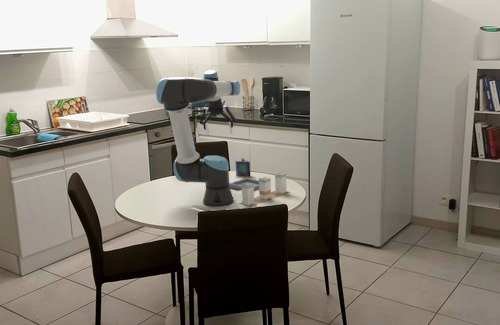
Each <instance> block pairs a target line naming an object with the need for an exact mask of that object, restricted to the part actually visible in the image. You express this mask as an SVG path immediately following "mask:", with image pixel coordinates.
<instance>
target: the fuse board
mask: <svg viewBox="0 0 500 325" xmlns="http://www.w3.org/2000/svg"><path fill="white" fill-rule="evenodd" d="M290 193H291V191H287V192H285V193H283V194H280V193H276V190H274V191H271V198H268V199H266V200H265V199H261V198H260V195H259V196H257V197H254V204H251V205H249V206H248V205H245V204H243V201H241V202H239V203H238V205H242V206H245V207H249V208H251V207H254V206H257V205H259V204H260V205H261V204H262V203H265V202H267V201H270V200H273V199H276V198H279V197H281V196H284V195H288V194H290Z"/></svg>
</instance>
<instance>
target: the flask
mask: <svg viewBox="0 0 500 325" xmlns="http://www.w3.org/2000/svg"><path fill="white" fill-rule="evenodd" d="M234 163H235V175H236V176H238V177H246V178H249V177H251V164H250V163H251V162H250V160H247V159H245V157H242V158H241V160H235V162H234Z"/></svg>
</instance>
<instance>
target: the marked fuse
mask: <svg viewBox="0 0 500 325" xmlns="http://www.w3.org/2000/svg"><path fill="white" fill-rule="evenodd" d="M271 179H272V178H271V177H266V176H262V177H260V178H258V181H259V189H258V192H259V196H260V198H261V199H265V200H266V199H268V198H271V192H272V189H271V188H272V184H271V181H272V180H271Z"/></svg>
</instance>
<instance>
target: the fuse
mask: <svg viewBox="0 0 500 325" xmlns="http://www.w3.org/2000/svg"><path fill="white" fill-rule="evenodd" d="M254 198H255V190H254V184H253V183H249V182H247V183H244V184H242V190H241V199H242V200H241V202H243V204H245V205H248V206H249V205H251V204H254ZM245 205H244V206H245ZM248 206H247V207H248Z"/></svg>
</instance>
